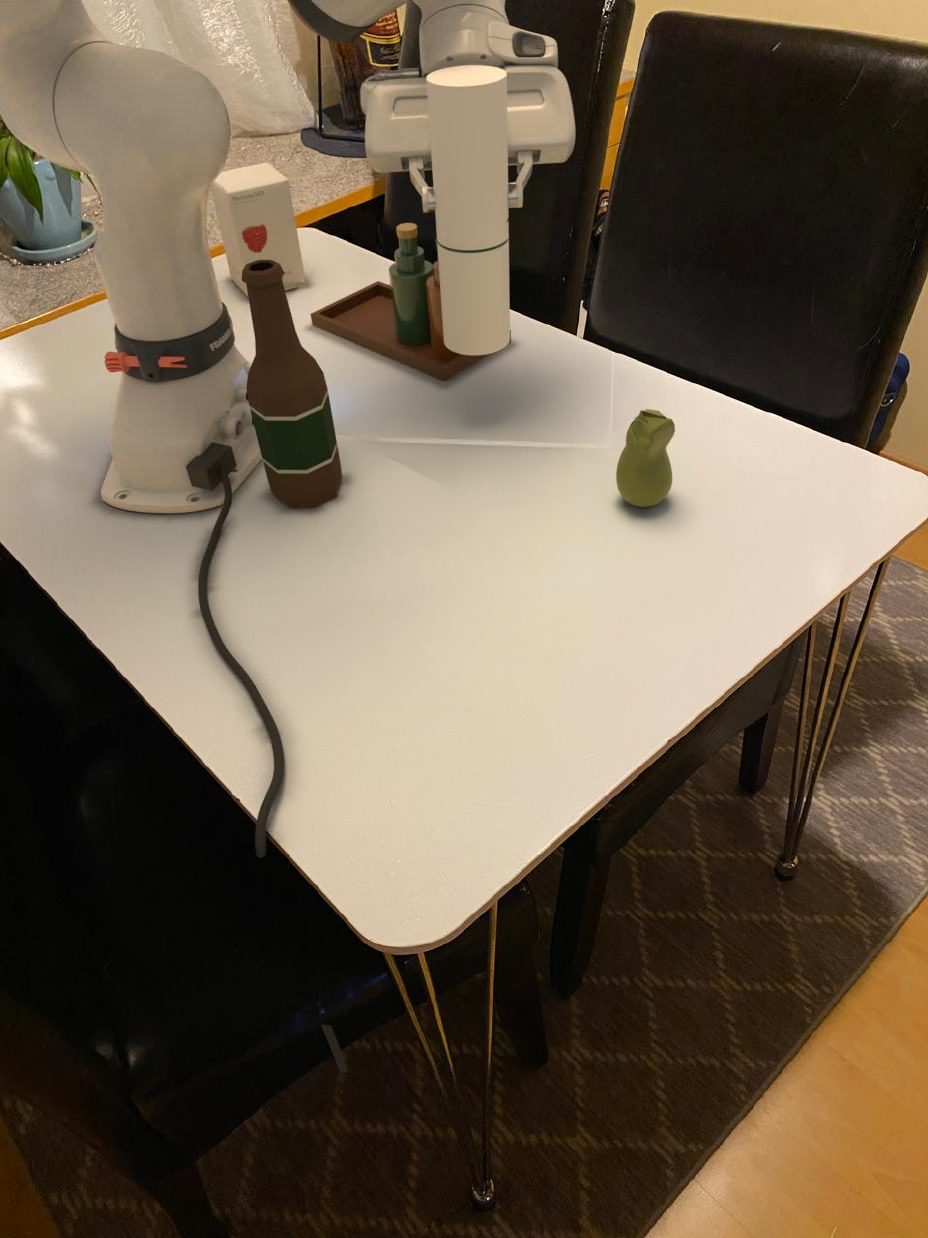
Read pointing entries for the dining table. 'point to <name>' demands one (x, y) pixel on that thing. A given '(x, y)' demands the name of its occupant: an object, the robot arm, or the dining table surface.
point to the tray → (383, 331)
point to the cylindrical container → (471, 204)
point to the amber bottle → (437, 316)
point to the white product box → (258, 221)
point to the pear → (646, 460)
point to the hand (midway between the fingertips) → (473, 207)
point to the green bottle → (410, 288)
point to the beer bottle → (288, 398)
